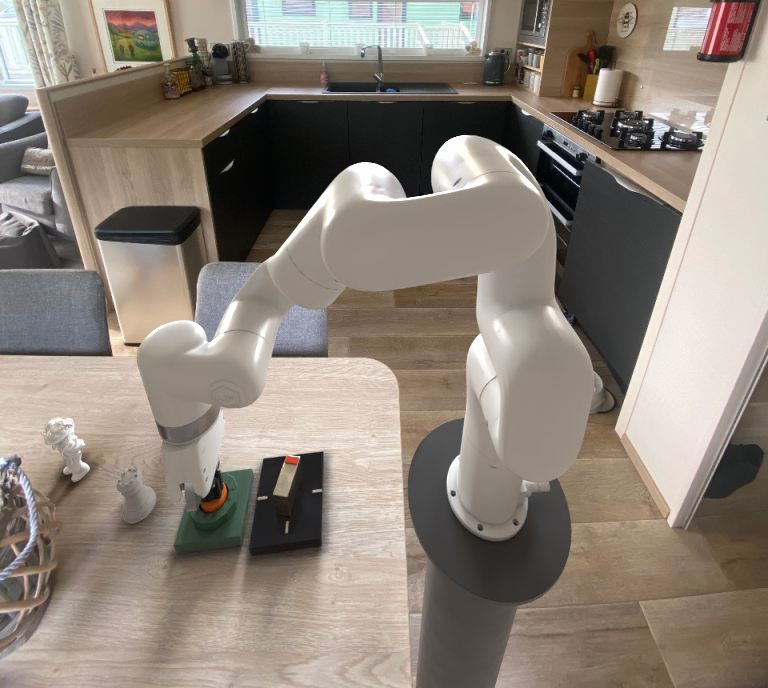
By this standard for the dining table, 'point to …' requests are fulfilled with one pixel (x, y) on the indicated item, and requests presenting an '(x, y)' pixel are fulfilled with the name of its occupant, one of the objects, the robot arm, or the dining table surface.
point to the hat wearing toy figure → (66, 446)
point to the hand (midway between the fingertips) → (211, 493)
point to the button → (215, 503)
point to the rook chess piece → (135, 495)
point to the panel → (306, 515)
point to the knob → (287, 486)
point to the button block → (218, 518)
